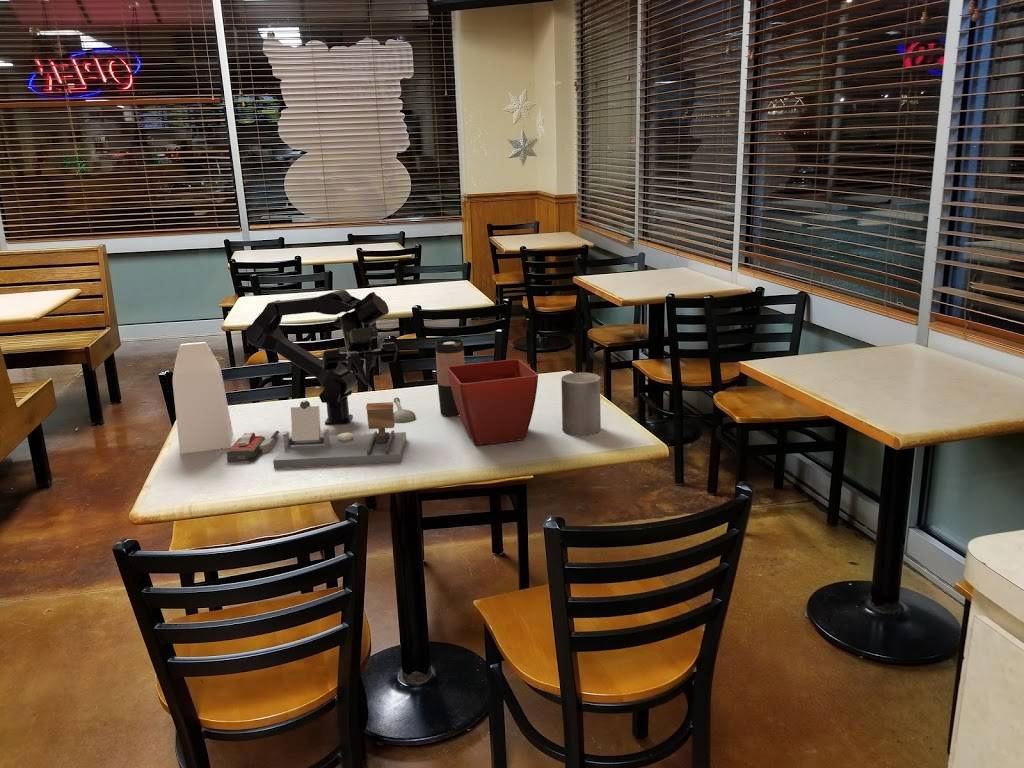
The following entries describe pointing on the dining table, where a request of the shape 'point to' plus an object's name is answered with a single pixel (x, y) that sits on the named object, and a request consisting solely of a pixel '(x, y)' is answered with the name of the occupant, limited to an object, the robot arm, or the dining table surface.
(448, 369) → the plant pot
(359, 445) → the control panel
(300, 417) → the light grey piece
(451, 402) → the travel mug
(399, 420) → the soupspoon
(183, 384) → the milk
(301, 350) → the robot arm
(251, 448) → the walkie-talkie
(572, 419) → the pillar candle
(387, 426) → the walnut slider lever
